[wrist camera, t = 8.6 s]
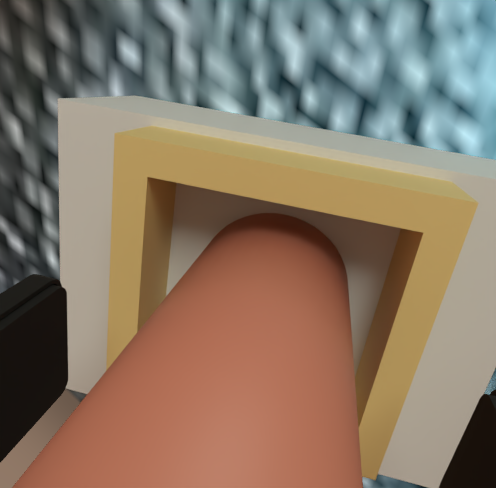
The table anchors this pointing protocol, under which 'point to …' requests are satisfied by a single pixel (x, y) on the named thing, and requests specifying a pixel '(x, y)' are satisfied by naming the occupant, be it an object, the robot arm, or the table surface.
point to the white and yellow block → (311, 211)
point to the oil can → (227, 377)
